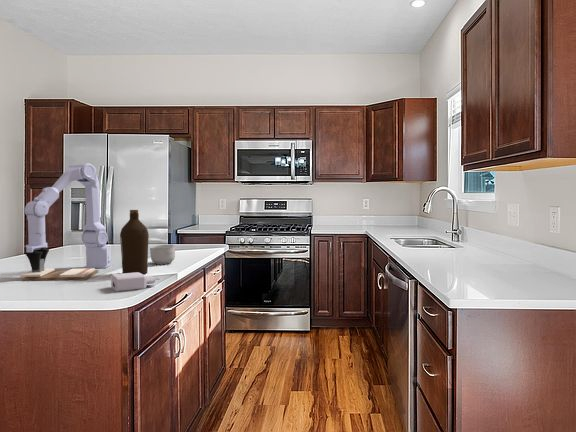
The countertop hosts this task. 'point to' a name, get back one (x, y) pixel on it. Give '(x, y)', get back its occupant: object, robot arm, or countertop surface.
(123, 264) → the olive oil
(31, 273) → the stub
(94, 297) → the countertop surface
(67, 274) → the ticket
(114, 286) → the charger
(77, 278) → the board
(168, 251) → the teacup
